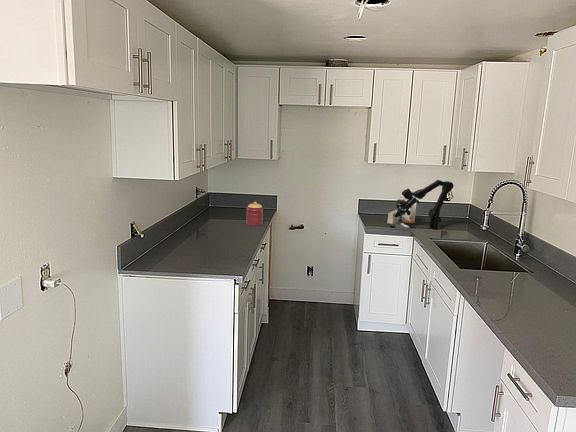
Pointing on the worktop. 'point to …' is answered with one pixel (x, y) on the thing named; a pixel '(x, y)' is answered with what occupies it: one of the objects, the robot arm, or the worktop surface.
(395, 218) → the beige block
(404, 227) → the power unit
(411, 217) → the cracker box
